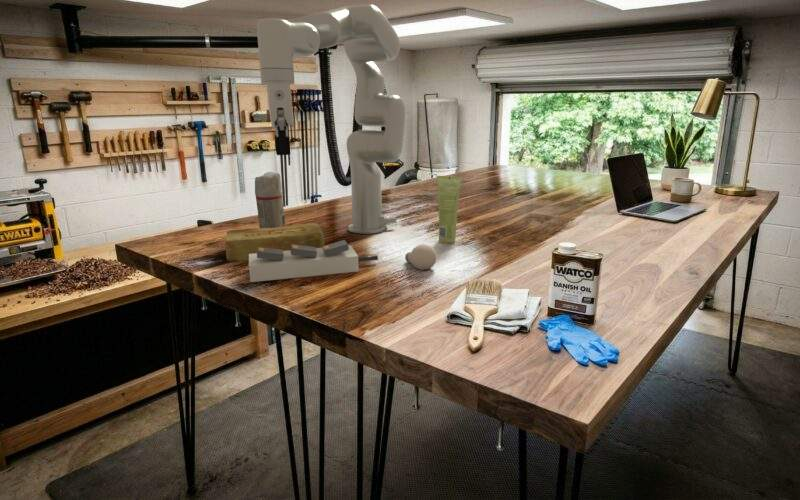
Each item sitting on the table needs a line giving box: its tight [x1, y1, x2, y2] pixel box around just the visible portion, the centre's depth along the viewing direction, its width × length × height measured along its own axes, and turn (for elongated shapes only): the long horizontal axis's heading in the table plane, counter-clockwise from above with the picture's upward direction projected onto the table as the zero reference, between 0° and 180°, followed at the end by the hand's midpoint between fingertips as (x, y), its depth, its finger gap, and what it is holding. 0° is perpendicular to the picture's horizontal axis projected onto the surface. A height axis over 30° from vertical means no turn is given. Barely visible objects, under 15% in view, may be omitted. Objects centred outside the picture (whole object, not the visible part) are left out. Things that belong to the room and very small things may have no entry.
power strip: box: [248, 244, 379, 283], centre depth 128 cm, size 32×10×4 cm, turn 106°
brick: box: [225, 222, 326, 263], centre depth 143 cm, size 13×26×7 cm, turn 107°
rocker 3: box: [322, 239, 349, 257], centre depth 127 cm, size 6×4×2 cm, turn 105°
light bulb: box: [404, 243, 437, 271], centre depth 129 cm, size 7×7×11 cm
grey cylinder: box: [254, 171, 286, 229], centre depth 155 cm, size 8×8×20 cm
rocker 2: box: [290, 244, 317, 258], centre depth 125 cm, size 6×4×2 cm, turn 106°
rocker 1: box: [257, 247, 284, 261], centre depth 123 cm, size 6×4×2 cm, turn 107°
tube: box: [436, 175, 463, 244], centre depth 149 cm, size 6×5×20 cm
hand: (282, 152), depth 122 cm, fingers open, 9 cm apart
